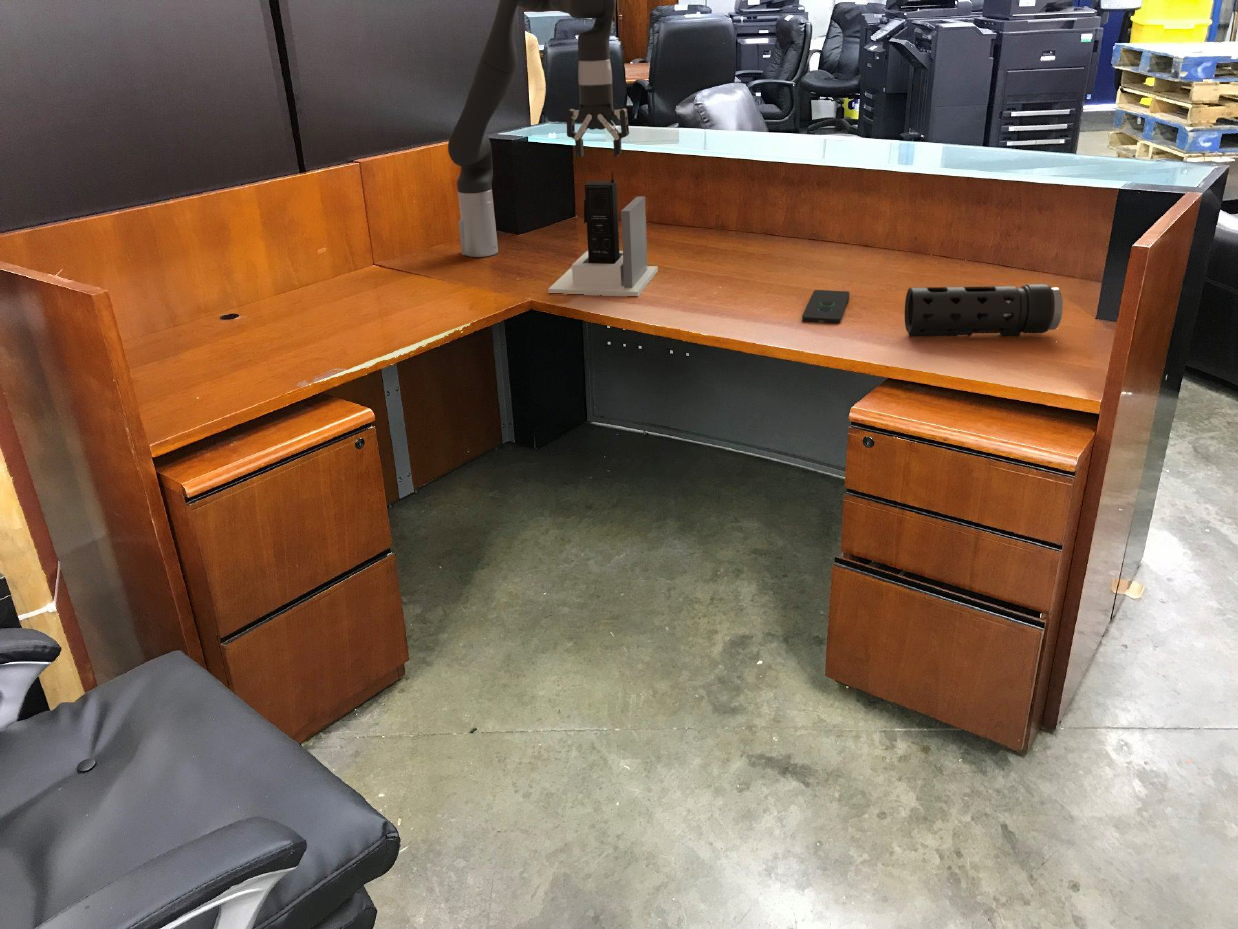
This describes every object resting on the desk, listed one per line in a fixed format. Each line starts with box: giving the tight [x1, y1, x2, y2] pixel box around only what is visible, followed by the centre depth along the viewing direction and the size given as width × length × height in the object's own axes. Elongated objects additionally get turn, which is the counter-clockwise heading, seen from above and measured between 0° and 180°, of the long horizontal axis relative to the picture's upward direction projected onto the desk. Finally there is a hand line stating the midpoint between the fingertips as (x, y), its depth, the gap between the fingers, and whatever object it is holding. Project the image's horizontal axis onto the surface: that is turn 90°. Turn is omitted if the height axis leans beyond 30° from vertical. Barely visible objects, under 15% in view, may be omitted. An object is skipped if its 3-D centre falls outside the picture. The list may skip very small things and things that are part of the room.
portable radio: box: [583, 171, 620, 264], centre depth 230 cm, size 8×6×25 cm
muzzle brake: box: [904, 283, 1064, 338], centre depth 189 cm, size 10×28×10 cm, turn 85°
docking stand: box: [547, 196, 659, 297], centre depth 232 cm, size 22×22×19 cm
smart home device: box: [801, 289, 850, 325], centre depth 210 cm, size 8×2×20 cm
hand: (598, 156), depth 223 cm, fingers open, 8 cm apart
